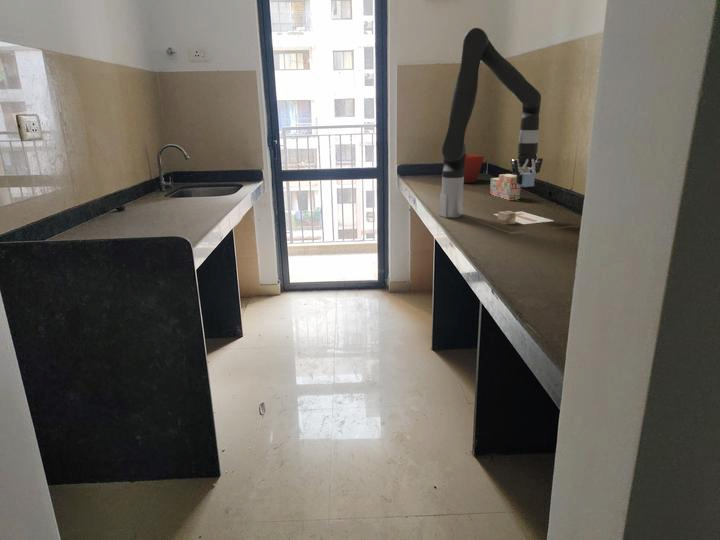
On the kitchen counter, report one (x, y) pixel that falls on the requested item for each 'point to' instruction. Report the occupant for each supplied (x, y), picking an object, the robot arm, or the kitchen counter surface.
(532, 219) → the letter mat
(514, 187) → the stack of blocks
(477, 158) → the plant pot
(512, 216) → the beech block
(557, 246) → the kitchen counter surface
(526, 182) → the blue-grey cube
